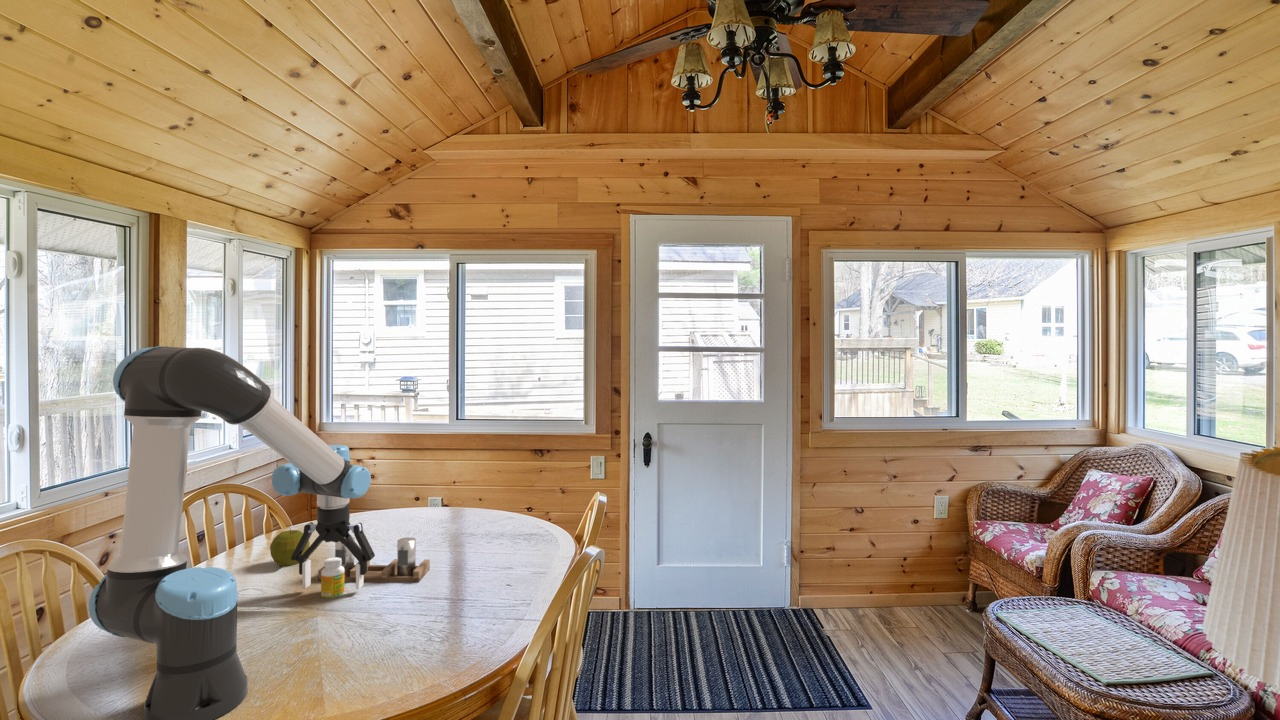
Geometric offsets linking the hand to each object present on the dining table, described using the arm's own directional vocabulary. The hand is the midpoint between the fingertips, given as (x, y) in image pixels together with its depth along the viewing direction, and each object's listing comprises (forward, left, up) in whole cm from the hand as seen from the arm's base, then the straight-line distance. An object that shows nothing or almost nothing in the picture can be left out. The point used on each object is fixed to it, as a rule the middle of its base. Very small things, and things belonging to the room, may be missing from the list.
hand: (333, 586), depth 154 cm
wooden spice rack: (+12, -6, -3) cm, 14 cm away
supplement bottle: (0, 0, -3) cm, 3 cm away
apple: (+22, +23, -3) cm, 32 cm away
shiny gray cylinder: (+12, +3, -2) cm, 12 cm away
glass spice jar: (+12, -14, -2) cm, 19 cm away
